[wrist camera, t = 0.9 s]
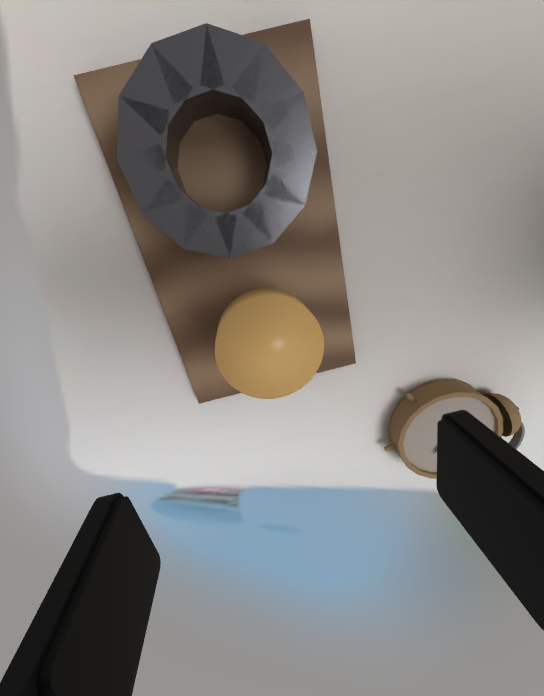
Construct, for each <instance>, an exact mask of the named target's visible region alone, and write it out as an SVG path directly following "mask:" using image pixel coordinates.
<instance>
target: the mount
mask: <svg viewBox="0 0 544 696" xmlns="http://www.w3.org/2000/svg"><path fill="white" fill-rule="evenodd" d="M243 36H245V37H248V38H251V39H254V40H257V41H260V42H263V43H264V44H265V45H266V46H267V47H268V49H269V50H270V51H271V52H272V53H273V55H274V56H275V57H276V58H277V60H278V61H279V62H280V63H281V65H282V66H283V67H284V68H285V69H286V71H287V72H288V73H289V74H290V76H291V77H292V78H293V79H294V80H295V82H296V83H297V84H298V85H299V87H300V88H301V89H302V90H303V92H304V95H305V100H306V104H307V109H308V113H309V118H310V122H311V127H312V131H313V136H314V140H315V144H316V149H317V155H316V159H315V163H314V168H313V172H312V177H311V181H310V186H309V190H308V194H307V199H306V203H305V206H304V207H303V209H302V210H301V211H300V212H299V213H298V215H297V216H296V217H295V218H294V219H293V221H292V222H291V223H290V224H289V225H288V226H287V228H286V229H285V230H284V231H283V232H282V234H281V235H280V236H279V237H278V238H277V240H276V241H275V242H274V243H273V244H270V245H267V246H264V247H261V248H258V249H255V250H253V251H250V252H247V253H244V254H241V255H238V256H236V257H233V258H226V257H221V256H216V255H211V254H206V253H201V252H197V251H192V250H187V249H183V248H182V247H181V246H179V245H178V244H177V243H176V242H175V241H173V240H172V239H171V238H170V237H169V236H167V235H166V234H165V233H164V232H163V231H161V230H160V229H159V228H158V227H157V226H155V225H154V224H153V223H152V222H151V221H149V220H148V219H147V218H146V217H145V216H144V215H142V213H141V211H140V209H139V207H138V204H137V202H136V200H135V198H134V196H133V193H132V191H131V189H130V187H129V185H128V182H127V180H126V178H125V176H124V174H123V171H122V169H121V167H120V165H119V163H118V160H117V139H118V102H119V94H120V93H121V91H122V90H123V88H124V86H125V85H126V83H127V82H128V80H129V78H130V77H131V75H132V74H133V72H134V70H135V69H136V67H137V66H138V64H139V62H140V61H141V60H136V61H132V62H128V63H124V64H120V65H116V66H111V67H107V68H103V69H99V70H95V71H91V72H87V73H82V74H78V75H74V78H75V81H76V83H77V86H78V89H79V91H80V94H81V97H82V99H83V102H84V104H85V107H86V110H87V112H88V115H89V117H90V120H91V123H92V125H93V128H94V130H95V133H96V136H97V138H98V141H99V143H100V146H101V149H102V151H103V154H104V157H105V159H106V162H107V164H108V167H109V170H110V172H111V175H112V177H113V180H114V183H115V185H116V188H117V190H118V193H119V196H120V198H121V201H122V203H123V206H124V209H125V211H126V214H127V217H128V219H129V222H130V224H131V227H132V230H133V232H134V235H135V237H136V240H137V243H138V245H139V248H140V250H141V253H142V256H143V258H144V261H145V263H146V266H147V269H148V271H149V274H150V277H151V279H152V282H153V284H154V287H155V290H156V292H157V295H158V297H159V300H160V303H161V305H162V308H163V310H164V313H165V316H166V318H167V321H168V323H169V326H170V329H171V331H172V334H173V337H174V339H175V342H176V344H177V347H178V350H179V352H180V355H181V357H182V360H183V363H184V365H185V368H186V370H187V373H188V376H189V378H190V381H191V383H192V386H193V389H194V391H195V394H196V397H197V399H198V402H199V403H203V402H207V401H211V400H215V399H219V398H223V397H226V396H230V395H234V394H238V393H241V392H240V391H238V390H236V389H235V388H234V387H232V386H231V385H230V384H229V383H228V382H227V381H226V380H225V378H224V377H223V376H222V374H221V372H220V370H219V368H218V366H217V363H216V358H215V341H216V335H217V330H218V325H219V321H220V319H221V316H222V314H223V313H224V311H225V309H226V308H227V307H228V305H229V304H230V303H231V302H232V301H233V300H235V299H236V298H237V297H239V296H240V295H242V294H244V293H246V292H248V291H251V290H255V289H260V288H275V289H280V290H283V291H286V292H288V293H290V294H292V295H293V296H295V297H296V298H298V299H299V300H300V301H301V302H302V303H303V304H304V305H305V306H306V307H307V309H308V310H309V311H310V312H311V313H312V314H313V315H314V317H315V318H316V320H317V321H318V323H319V325H320V327H321V330H322V333H323V337H324V354H323V358H322V361H321V364H320V366H319V368H318V370H317V372H316V373H319V372H323V371H327V370H331V369H335V368H339V367H343V366H346V365H350V364H354V363H356V361H355V353H354V346H353V338H352V331H351V323H350V316H349V309H348V301H347V294H346V286H345V279H344V271H343V264H342V256H341V249H340V241H339V234H338V227H337V219H336V212H335V204H334V197H333V189H332V182H331V174H330V167H329V159H328V152H327V145H326V137H325V130H324V122H323V115H322V107H321V100H320V92H319V85H318V77H317V70H316V63H315V55H314V48H313V40H312V33H311V25H310V19H307V20H303V21H299V22H294V23H290V24H286V25H282V26H278V27H274V28H270V29H265V30H261V31H257V32H253V33H249V34H245V35H243ZM266 166H267V165H266V162H265V158H264V155H263V151H262V148H261V144H260V141H259V139H258V138H257V137H256V136H255V135H254V134H253V133H252V132H251V130H250V129H249V128H248V127H247V126H246V125H245V124H244V123H243V122H242V121H241V120H238V119H235V118H231V117H228V116H224V115H221V114H214V115H212V116H209V117H206V118H203V119H201V120H198V121H195V122H194V123H193V124H192V126H191V127H190V129H189V130H188V132H187V133H186V134H185V136H184V137H183V139H182V140H181V142H180V146H179V157H178V172H179V174H180V177H181V180H182V182H183V185H184V187H185V190H186V192H187V194H188V195H189V196H190V197H191V198H192V199H193V200H194V201H195V202H196V203H198V204H199V205H200V206H201V207H202V208H205V209H209V210H214V211H218V212H222V213H228V212H231V211H233V210H236V209H239V208H242V207H245V206H248V205H250V204H251V203H252V201H253V200H254V199H255V198H256V196H257V195H258V194H259V193H260V191H261V190H262V188H263V183H264V177H265V172H266ZM316 373H315V374H316Z"/></svg>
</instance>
